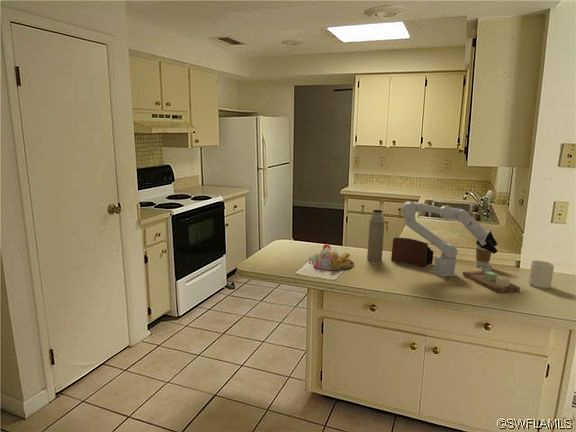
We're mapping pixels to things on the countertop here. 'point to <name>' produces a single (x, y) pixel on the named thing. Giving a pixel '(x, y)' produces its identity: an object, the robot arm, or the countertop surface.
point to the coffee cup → (482, 255)
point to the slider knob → (486, 268)
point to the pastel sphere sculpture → (331, 259)
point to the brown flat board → (490, 282)
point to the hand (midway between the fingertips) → (495, 248)
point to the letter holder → (411, 252)
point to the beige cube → (502, 281)
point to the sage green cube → (490, 276)
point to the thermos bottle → (376, 236)
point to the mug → (541, 274)
